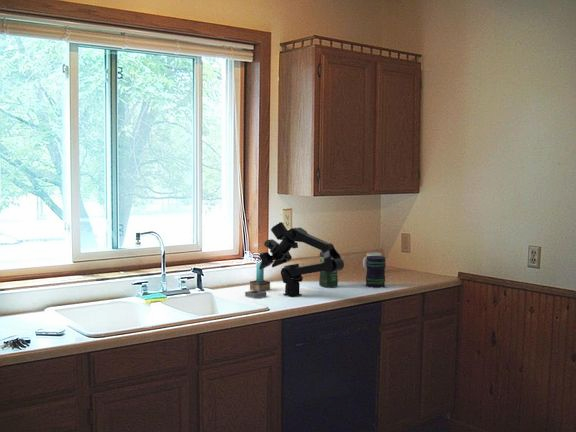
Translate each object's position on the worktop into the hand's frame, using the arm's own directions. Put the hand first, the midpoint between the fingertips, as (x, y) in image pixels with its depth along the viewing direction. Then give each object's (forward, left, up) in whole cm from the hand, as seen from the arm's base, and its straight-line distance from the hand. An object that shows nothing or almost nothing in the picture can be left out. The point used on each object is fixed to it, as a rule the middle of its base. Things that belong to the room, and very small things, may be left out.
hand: (266, 267), depth 314 cm
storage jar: (-26, -51, -12) cm, 59 cm away
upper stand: (+4, +1, -11) cm, 12 cm away
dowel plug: (+4, +1, -8) cm, 9 cm away
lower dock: (-7, +13, -11) cm, 18 cm away
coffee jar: (-11, -32, -12) cm, 36 cm away
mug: (+3, -83, -12) cm, 84 cm away
